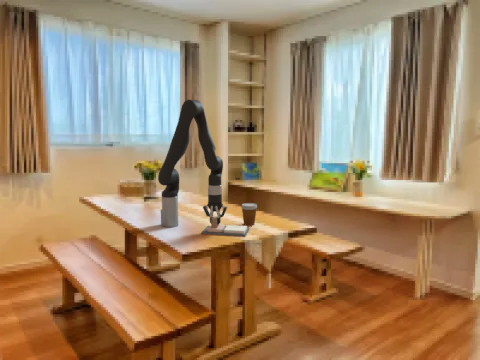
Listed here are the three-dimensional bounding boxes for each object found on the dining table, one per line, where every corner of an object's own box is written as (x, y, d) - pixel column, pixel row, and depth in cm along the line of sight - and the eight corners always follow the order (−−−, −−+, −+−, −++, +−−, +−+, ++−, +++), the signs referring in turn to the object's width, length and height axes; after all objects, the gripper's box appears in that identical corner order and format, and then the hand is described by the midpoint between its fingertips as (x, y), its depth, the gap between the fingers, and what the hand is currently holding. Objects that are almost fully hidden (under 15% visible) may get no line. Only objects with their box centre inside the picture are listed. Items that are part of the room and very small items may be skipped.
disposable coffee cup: (247, 227, 202) (247, 206, 201) (237, 223, 210) (238, 204, 208) (260, 224, 208) (260, 204, 206) (250, 221, 216) (250, 202, 214)
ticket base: (201, 233, 189) (201, 229, 189) (208, 227, 202) (208, 223, 202) (245, 236, 185) (245, 231, 184) (249, 229, 197) (249, 225, 197)
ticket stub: (207, 231, 190) (207, 219, 189) (212, 226, 200) (212, 215, 199) (221, 232, 188) (221, 220, 188) (226, 227, 198) (226, 216, 197)
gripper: (200, 193, 189) (200, 225, 192) (226, 194, 187) (226, 226, 189) (204, 191, 196) (204, 221, 199) (229, 192, 194) (229, 223, 196)
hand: (215, 223), depth 194 cm, fingers closed on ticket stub, 3 cm apart
